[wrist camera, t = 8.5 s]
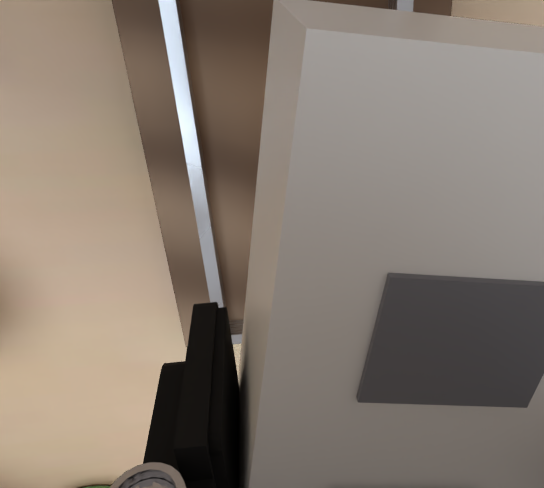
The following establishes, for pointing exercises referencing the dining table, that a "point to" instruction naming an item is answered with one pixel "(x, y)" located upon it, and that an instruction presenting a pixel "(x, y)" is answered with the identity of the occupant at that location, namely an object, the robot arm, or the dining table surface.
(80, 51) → the dining table surface
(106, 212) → the dining table surface
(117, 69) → the dining table surface
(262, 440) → the power strip
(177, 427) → the robot arm
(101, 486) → the ramekin
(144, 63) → the board
